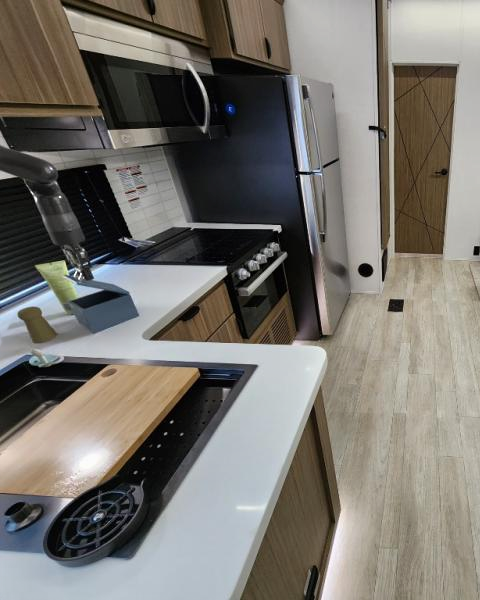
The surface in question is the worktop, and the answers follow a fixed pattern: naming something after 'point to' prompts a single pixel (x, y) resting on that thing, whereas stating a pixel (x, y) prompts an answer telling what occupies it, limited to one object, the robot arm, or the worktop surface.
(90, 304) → the blue-grey open box
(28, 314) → the cork
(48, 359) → the pacifier
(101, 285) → the hinged box lid
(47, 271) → the tube
